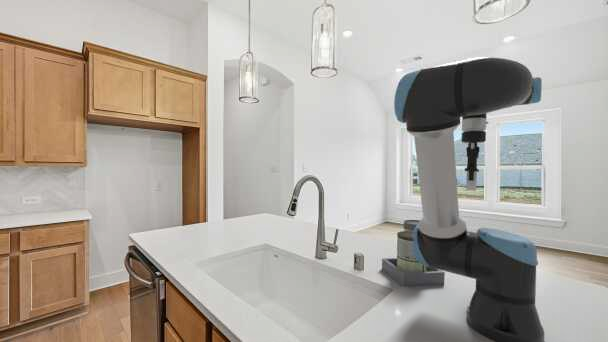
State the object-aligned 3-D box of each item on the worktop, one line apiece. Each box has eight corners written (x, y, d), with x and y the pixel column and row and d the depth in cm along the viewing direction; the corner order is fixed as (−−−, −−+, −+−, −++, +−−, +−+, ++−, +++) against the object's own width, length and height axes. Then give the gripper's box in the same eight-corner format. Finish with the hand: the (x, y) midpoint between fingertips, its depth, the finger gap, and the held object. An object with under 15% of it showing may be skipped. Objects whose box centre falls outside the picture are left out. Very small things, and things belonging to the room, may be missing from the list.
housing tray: (444, 283, 90) (444, 272, 90) (403, 286, 87) (404, 274, 87) (417, 267, 104) (417, 257, 104) (381, 268, 102) (382, 258, 102)
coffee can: (393, 267, 101) (394, 230, 101) (421, 269, 100) (422, 231, 100) (399, 278, 91) (401, 237, 91) (431, 280, 90) (432, 239, 90)
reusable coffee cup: (415, 262, 110) (417, 226, 110) (396, 252, 122) (397, 220, 122) (439, 259, 114) (440, 224, 114) (418, 250, 126) (419, 219, 126)
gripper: (486, 125, 85) (483, 192, 85) (485, 134, 106) (483, 188, 106) (459, 127, 89) (456, 190, 89) (463, 135, 110) (461, 187, 110)
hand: (471, 189), depth 98 cm, fingers open, 13 cm apart
